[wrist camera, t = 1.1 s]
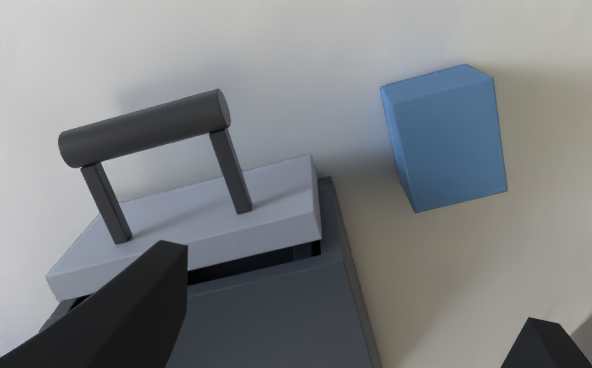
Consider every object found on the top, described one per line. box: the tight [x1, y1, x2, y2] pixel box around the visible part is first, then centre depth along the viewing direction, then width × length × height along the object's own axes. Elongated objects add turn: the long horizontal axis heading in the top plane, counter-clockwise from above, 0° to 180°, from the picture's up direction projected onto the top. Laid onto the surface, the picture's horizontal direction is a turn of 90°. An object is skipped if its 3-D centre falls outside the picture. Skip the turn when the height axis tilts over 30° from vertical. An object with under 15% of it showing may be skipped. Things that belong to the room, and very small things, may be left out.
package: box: [380, 64, 508, 213], centre depth 22 cm, size 4×5×4 cm
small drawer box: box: [39, 177, 382, 368], centre depth 24 cm, size 14×12×8 cm
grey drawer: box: [45, 89, 322, 302], centre depth 23 cm, size 17×10×6 cm, turn 15°
